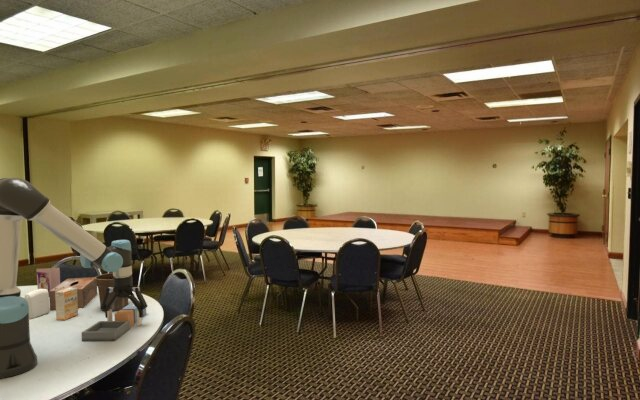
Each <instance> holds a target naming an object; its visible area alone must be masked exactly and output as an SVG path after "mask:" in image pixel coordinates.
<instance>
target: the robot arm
mask: <svg viewBox="0 0 640 400" xmlns="http://www.w3.org/2000/svg"><path fill="white" fill-rule="evenodd" d="M24 219H26V220H27V221H33V222H35V223H37V224H38V225H39V226H41V227H43V228H44V229H45V230H47V232H49V233H51V234H52V235H54V236H55V237H56V238H58V239H59V240H61V241H62V242H64V243H65V244H67V245H68V246H69V247H70V248H72V249H73V250H75V251H76V252H78V253H79V262H80V265H81V267H83V268H84V269H90V268H91V269H92V268H97V269H100V270H103V271H104V272H107V273H113V276H114V278H113V285H114V288H112V287H108V288H107V289H106V295H105V297H104V300H103V302H102V305H101V307H100V310H101V311H104V313H105V318H106V321H114V320H113V311H112V309H110V308H111V307H112V305H113V304H114V302H115V301H116V300H117V298H118V297H119V298H122V297H124V298H126V297H127V298H128V300H130V302H131V303H133V304H134V305H135V306H136V307H137V309H138V310H137V322H136V326H139V327H140V326H141V325H142V323H143V322H142V321H143V320H142V318H143V317H144V316H143V309H145V308H146V309H147V307H148V304H147V301H146V299H145V298H144V296H143V294H142V291H141V287H140V286H137V287H135V286H133V283H134V282H133V265H132V264H133V263H132V244H131V241H130V240H128V239H117V240H113V241H111V244H110V246H107V245H106V244H104V243H103V242H101V241H100V240H99V239H98V238H96V237H94V236H93V235H92V234H91V233H90V232H89V231H86V230H85V229H84V228H83V227H81V226H80V225H79V224H78V223H76V222H75V221H74V220H72V219H71V218H70V217H69V216H67V215H66V214H64V213H63V212H62V211H60V210H59V209H58V208H56V207H55V206H54V205H52V203H51V199H50V198H48V197H47V196H46V195H44V193H42V192H41V191H40V190H39V189H37V188H36V186H34V185H33V184H32V183H31V182H30V181H28V180H26V179H23V178H19V177H2V178H0V379H3V378H2V377H6V378H10V376H11V377H15V376H18V375H20V374H23V372H24V373H26V372H28V371H30V370H32V369H33V368H35V367H36V366H37V365H38V355H37V353H36V352H35V350H34V347H33V345H32V342H31V331H30V319H29V306H28V302H27V300H26V299H25V297H22V296H21V294H22V293H21V292H22V290H21V289H20V288H19V287H18V285H17V281H18V269H19V258H20V249H21V248H20V245H21V236H22V224H23V220H24ZM131 274H132V275H131ZM113 291H114V293H115V295H114V296H113V298H112V300H111V301H110V302H109V304H108V305H107V303H108V300H109V298H110V295H111V293H112V292H113ZM102 309H103V310H102ZM17 374H18V375H17ZM14 375H15V376H14Z"/></svg>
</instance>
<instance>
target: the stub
mask: <svg viewBox="0 0 640 400" xmlns="http://www.w3.org/2000/svg"><path fill="white" fill-rule="evenodd" d="M114 321H130V327H132V326H133V325H134V324H135V323H134V310H117V312H115V313H114Z"/></svg>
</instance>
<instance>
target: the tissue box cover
mask: <svg viewBox="0 0 640 400" xmlns="http://www.w3.org/2000/svg"><path fill="white" fill-rule="evenodd" d="M95 277H96V276H93V277H77V278H76V277H75V278H74V277H73V278H66V279H65V280H64V281H62V282H60V284H59V285H58V286H56V287H55V288H53V289H52V290H50V291H49V308H50V312H56V300H55V292H57V291H60V290H63V289H67V288H77V299H78V310H80V309H79V308H82V309H84V308H85V307H86V306H87V305H88V304H89V303H90V302H91V301H92V300H94V298H95V297H97V296H98V286H97V282H96V279H95Z"/></svg>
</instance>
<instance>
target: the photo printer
mask: <svg viewBox="0 0 640 400" xmlns="http://www.w3.org/2000/svg"><path fill="white" fill-rule="evenodd" d="M24 298H25V299H26V300H27V302H28V306H29V320H32V319H34V318H38V317H40V316H43V315H45V314H48V313H50V312H51V311H50V300H49V293H48V290H47V289H38V288H37V289H34V290H30V291H29V292H27V293H26V294H25V295H24Z"/></svg>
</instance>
